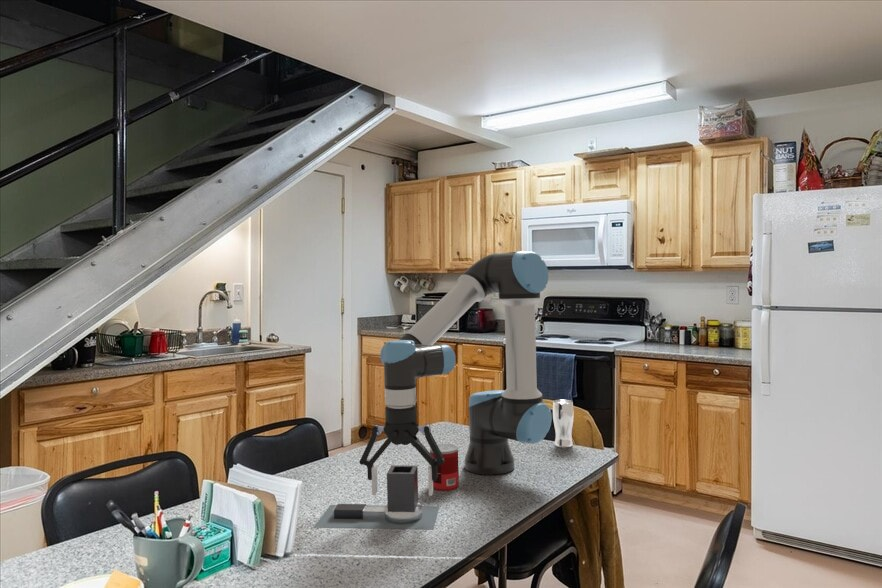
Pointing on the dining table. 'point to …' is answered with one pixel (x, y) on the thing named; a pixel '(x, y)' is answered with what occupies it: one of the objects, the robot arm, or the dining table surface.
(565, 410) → the beer glass
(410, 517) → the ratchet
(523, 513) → the dining table surface
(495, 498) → the dining table surface
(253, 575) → the dining table surface
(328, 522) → the mat
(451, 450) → the canned food
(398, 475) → the open square tube
